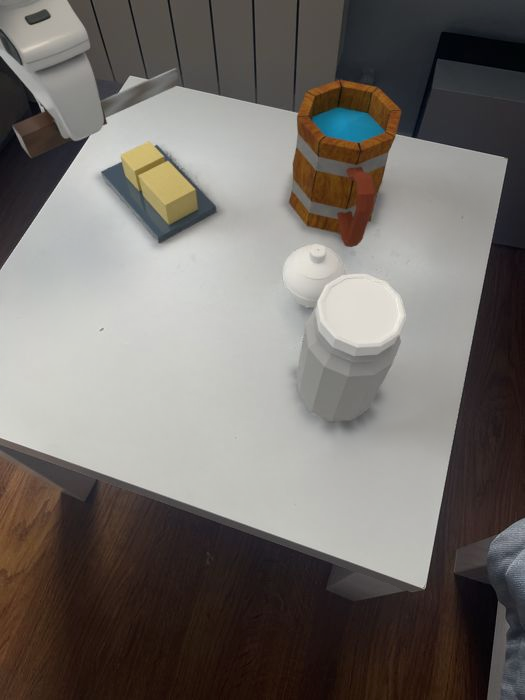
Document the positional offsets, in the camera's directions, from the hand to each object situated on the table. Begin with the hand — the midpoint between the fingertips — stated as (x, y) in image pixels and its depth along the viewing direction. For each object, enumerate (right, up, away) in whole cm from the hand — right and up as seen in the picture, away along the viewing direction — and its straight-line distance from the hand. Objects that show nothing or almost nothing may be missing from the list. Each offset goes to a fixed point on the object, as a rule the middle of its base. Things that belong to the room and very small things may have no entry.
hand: (60, 124), depth 63 cm
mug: (+35, -6, +17) cm, 39 cm away
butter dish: (+8, -3, +18) cm, 20 cm away
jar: (+32, -31, +4) cm, 45 cm away
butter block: (+10, -5, +16) cm, 19 cm away
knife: (+4, +2, +3) cm, 5 cm away
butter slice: (+6, 0, +18) cm, 19 cm away
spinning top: (+30, -21, +9) cm, 37 cm away
